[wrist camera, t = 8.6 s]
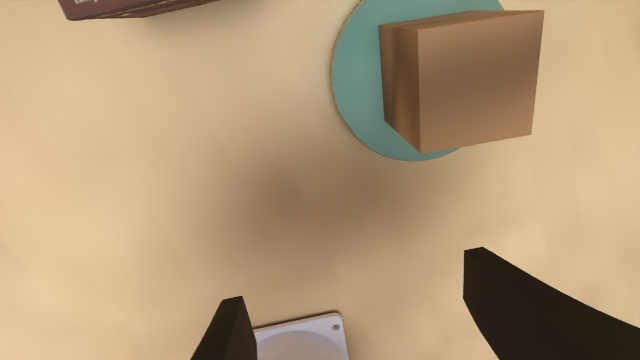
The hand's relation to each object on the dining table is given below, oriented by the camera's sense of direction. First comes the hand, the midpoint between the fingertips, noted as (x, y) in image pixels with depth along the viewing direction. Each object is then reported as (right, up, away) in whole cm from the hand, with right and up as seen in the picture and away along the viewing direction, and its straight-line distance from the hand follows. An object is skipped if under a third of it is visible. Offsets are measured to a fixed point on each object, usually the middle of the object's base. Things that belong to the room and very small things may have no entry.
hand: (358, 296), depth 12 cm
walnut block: (+4, +9, +6) cm, 12 cm away
